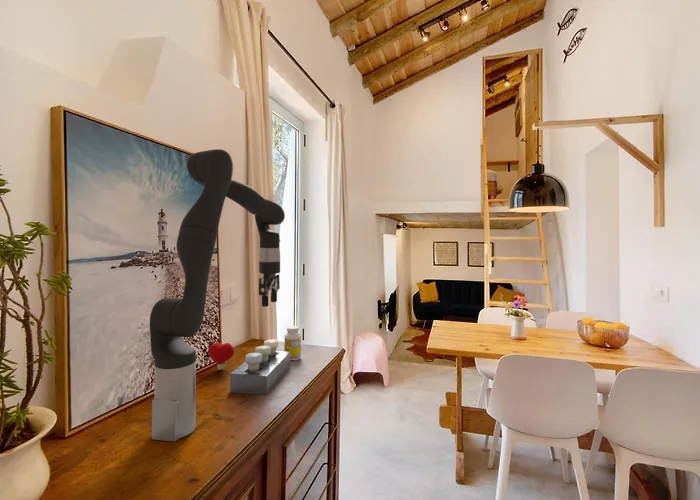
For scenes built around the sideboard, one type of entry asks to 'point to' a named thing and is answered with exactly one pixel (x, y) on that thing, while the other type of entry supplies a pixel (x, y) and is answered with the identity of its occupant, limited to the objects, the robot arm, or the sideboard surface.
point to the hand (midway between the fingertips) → (269, 304)
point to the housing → (260, 375)
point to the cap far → (272, 344)
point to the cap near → (253, 361)
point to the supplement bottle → (293, 342)
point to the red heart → (221, 353)
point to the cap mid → (263, 353)
